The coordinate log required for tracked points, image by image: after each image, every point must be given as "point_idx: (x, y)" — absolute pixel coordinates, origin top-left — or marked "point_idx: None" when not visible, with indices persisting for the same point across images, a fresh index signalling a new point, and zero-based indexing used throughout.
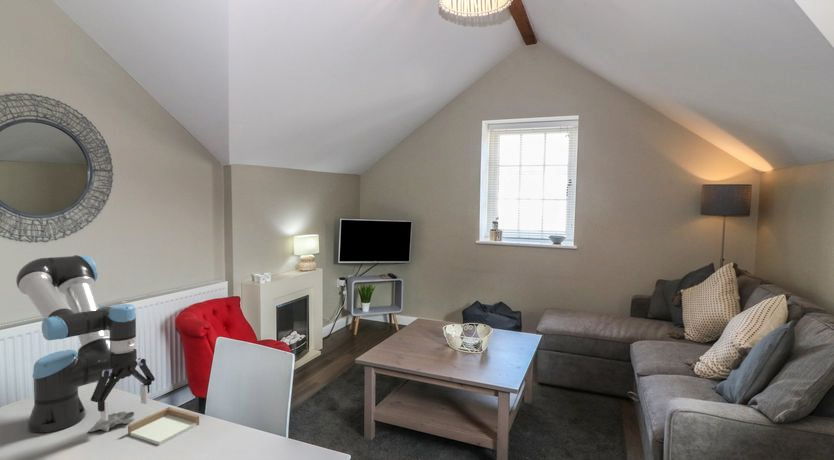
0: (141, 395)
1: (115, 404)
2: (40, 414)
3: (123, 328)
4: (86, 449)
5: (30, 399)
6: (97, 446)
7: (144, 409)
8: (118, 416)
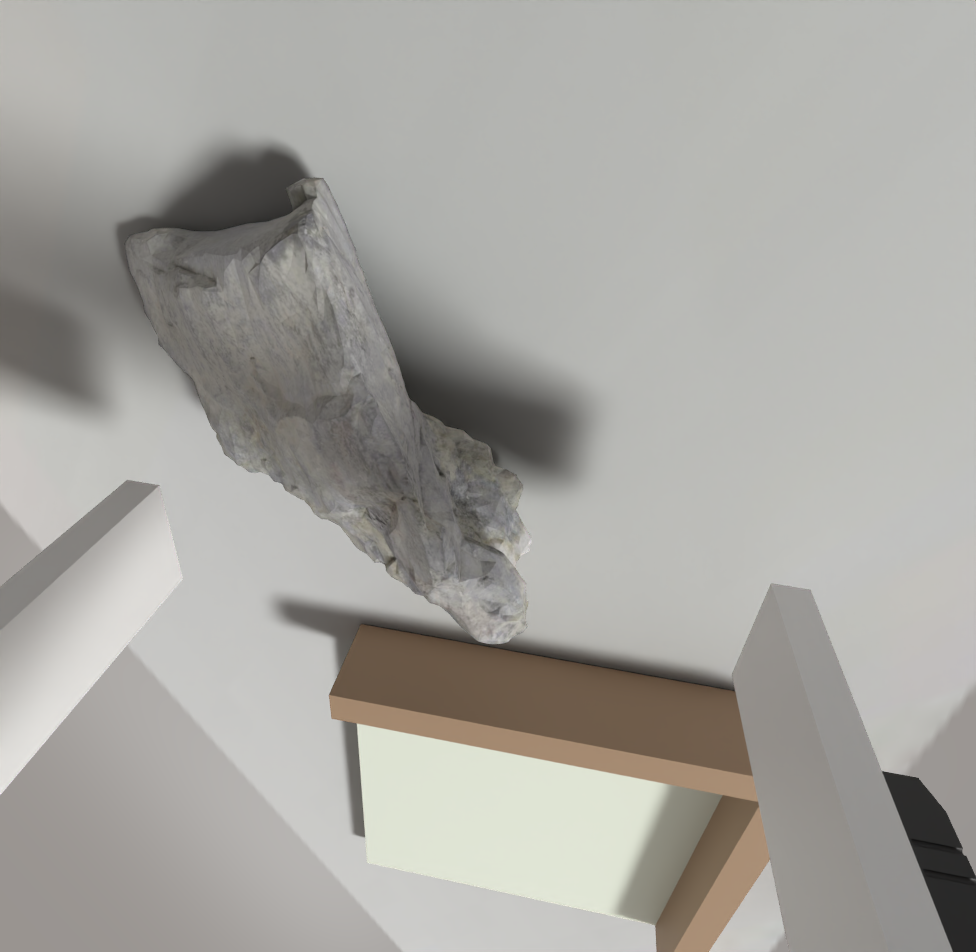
0: (797, 718)
1: None
2: None
3: None
4: (48, 511)
5: None
6: None
7: (949, 348)
8: (374, 518)
